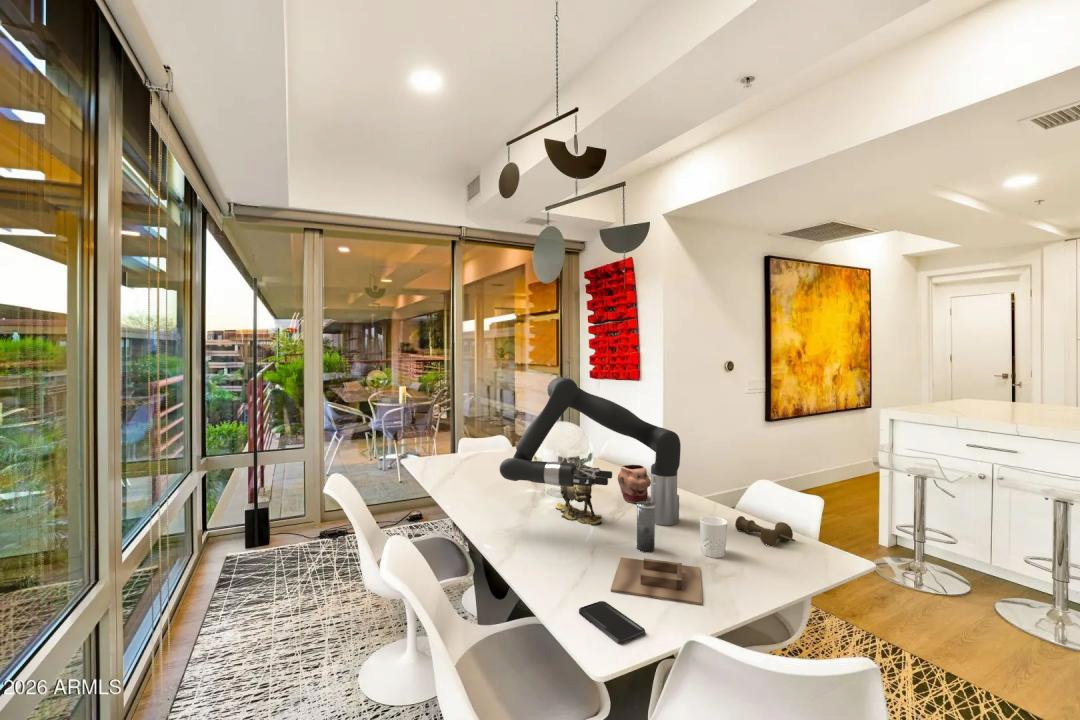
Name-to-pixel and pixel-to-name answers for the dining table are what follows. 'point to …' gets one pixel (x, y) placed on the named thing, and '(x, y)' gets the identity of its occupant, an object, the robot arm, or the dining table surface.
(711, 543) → the white cup
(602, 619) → the phone
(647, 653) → the dining table surface
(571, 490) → the figurine
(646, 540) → the graphite canister
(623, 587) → the walnut bracket
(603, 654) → the dining table surface
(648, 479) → the decorative planter
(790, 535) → the kendama
